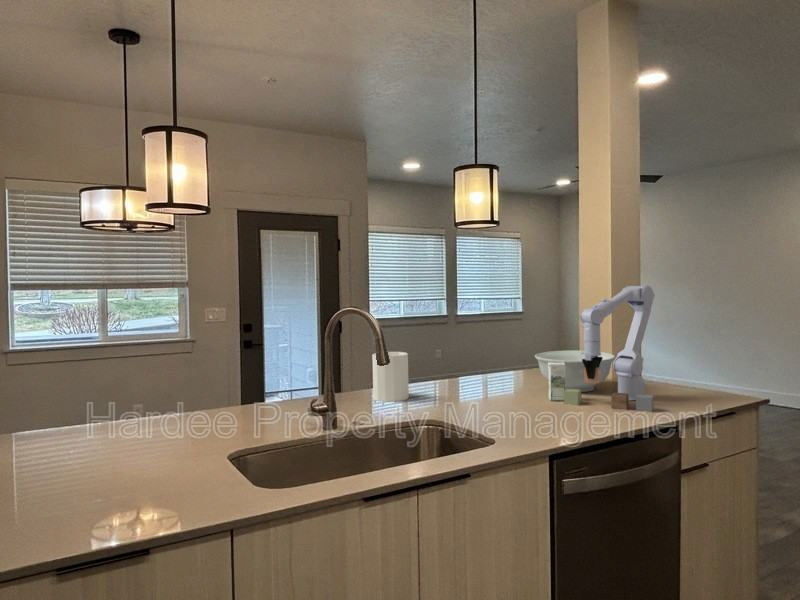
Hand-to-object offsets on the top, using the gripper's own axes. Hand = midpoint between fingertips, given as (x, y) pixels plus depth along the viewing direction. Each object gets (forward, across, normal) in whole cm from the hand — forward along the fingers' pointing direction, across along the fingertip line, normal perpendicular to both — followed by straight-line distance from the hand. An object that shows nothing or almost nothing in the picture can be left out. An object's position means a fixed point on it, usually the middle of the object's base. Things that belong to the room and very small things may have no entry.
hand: (592, 377), depth 209 cm
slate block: (+10, +2, +18) cm, 21 cm away
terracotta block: (+2, 0, 0) cm, 2 cm away
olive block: (+10, +2, -7) cm, 12 cm away
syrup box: (+10, -2, -14) cm, 17 cm away
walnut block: (+10, +2, +10) cm, 14 cm away
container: (+10, +23, -75) cm, 79 cm away
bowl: (+10, -26, -13) cm, 31 cm away
